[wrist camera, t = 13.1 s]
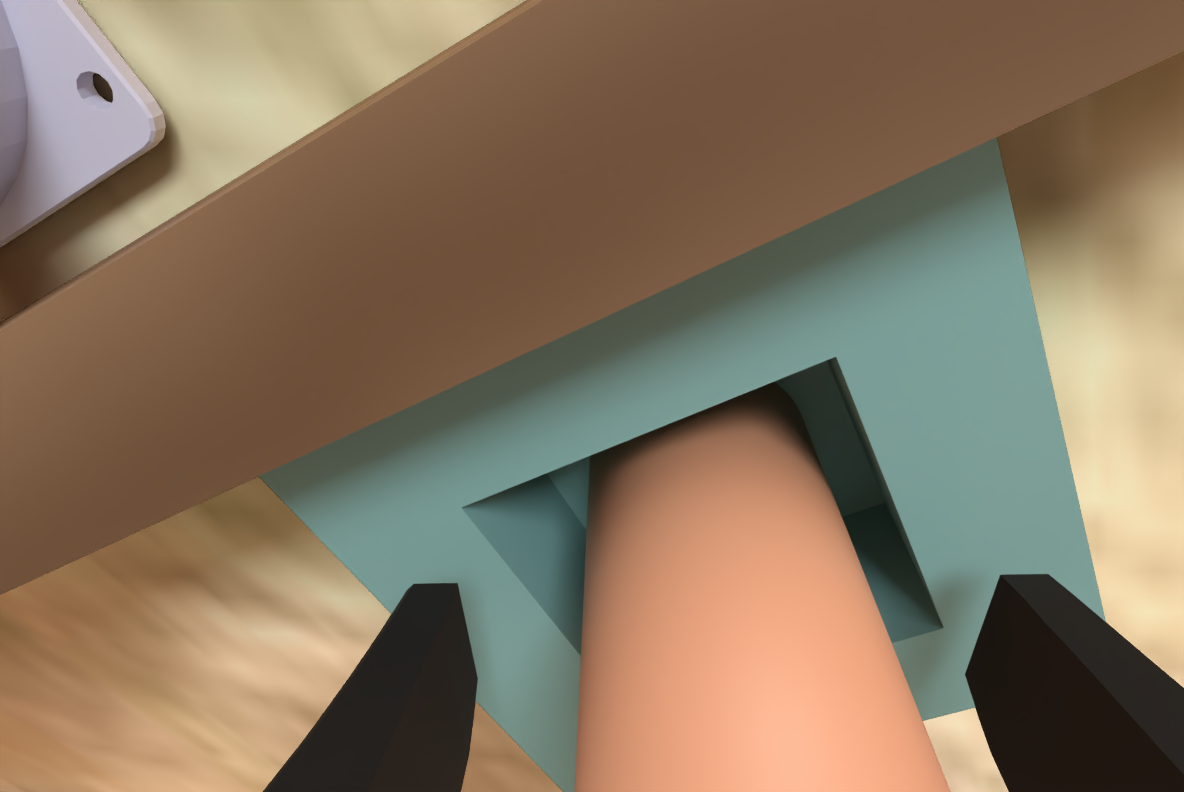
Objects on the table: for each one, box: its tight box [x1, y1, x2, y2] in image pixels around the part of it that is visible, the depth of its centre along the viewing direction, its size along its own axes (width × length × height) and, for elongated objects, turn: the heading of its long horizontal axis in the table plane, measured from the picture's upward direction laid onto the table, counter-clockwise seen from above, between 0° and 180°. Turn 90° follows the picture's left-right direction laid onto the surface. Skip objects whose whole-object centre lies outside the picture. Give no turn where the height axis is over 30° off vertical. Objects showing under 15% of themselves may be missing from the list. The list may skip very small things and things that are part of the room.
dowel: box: [575, 382, 950, 792], centre depth 10 cm, size 4×4×8 cm
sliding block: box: [259, 137, 1106, 792], centre depth 13 cm, size 10×10×4 cm
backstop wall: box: [0, 0, 1184, 595], centre depth 9 cm, size 2×24×6 cm, turn 118°
